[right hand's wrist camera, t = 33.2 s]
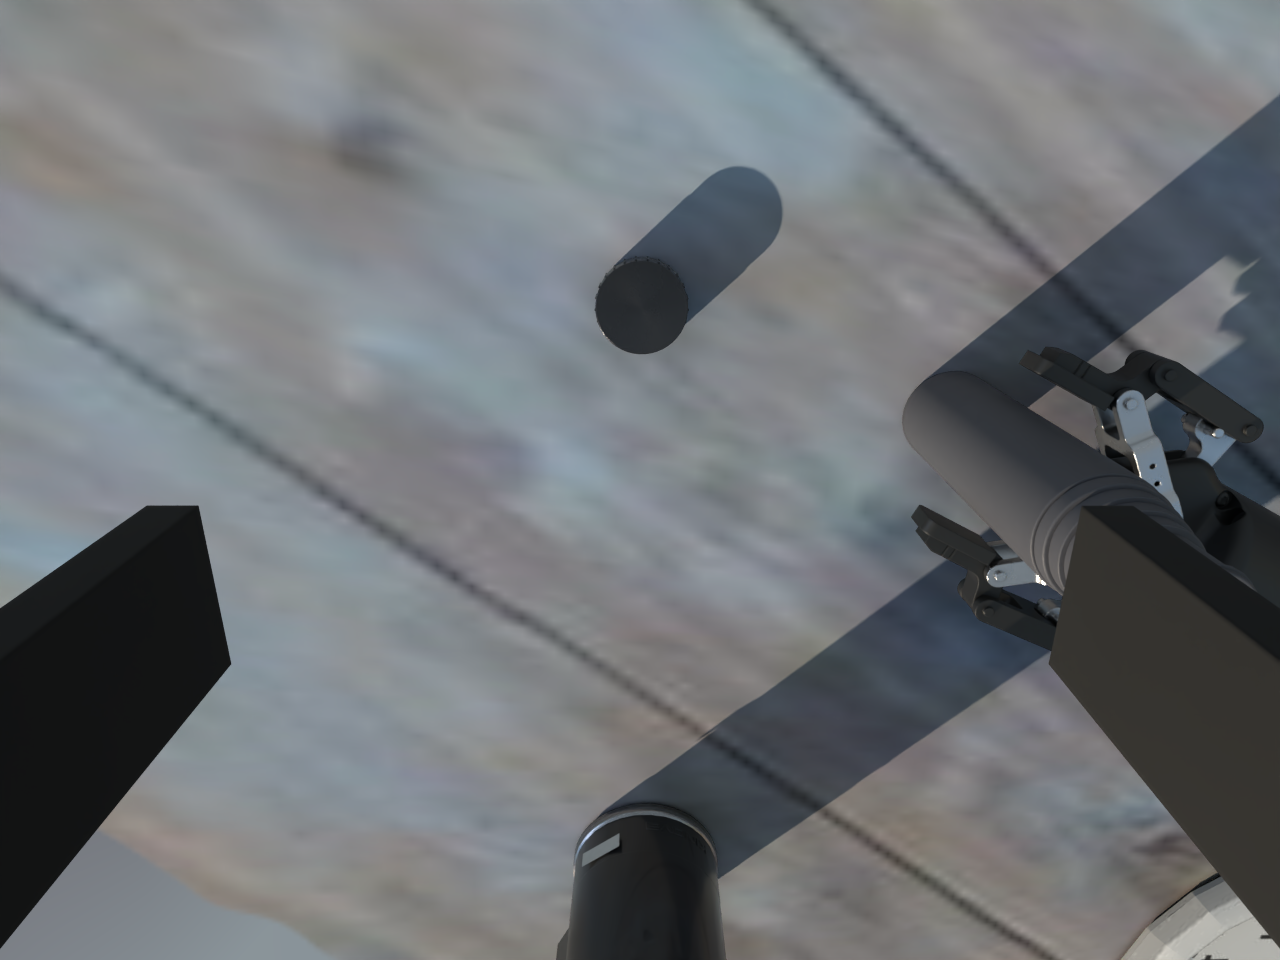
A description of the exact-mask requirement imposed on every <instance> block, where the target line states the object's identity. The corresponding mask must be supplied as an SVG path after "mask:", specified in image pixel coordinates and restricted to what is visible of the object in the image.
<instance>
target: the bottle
mask: <svg viewBox="0 0 1280 960" xmlns="http://www.w3.org/2000/svg"><path fill="white" fill-rule="evenodd" d="M902 423H903V430H904V434H905V437H906V439H907V441H908V442H909V444H910V445H911V446H912V448H913V449H914V450H915V451H916V452H917V453H918V454H919V455H920V456H921V457H922V458H923V459H924V460H925V461H926V462H927V463H928V464H929V465H930V466H931V467H932V468H933V469H934V470H935V471H936V472H937V473H938V474H939V475H940V476H941V477H942V478H943V479H944V480H945V481H946V482H947V484H948V485H949V486H950V487H951V488H952V489H953V490H954V491H955V492H956V493H957V494H958V495H959V496H960V497H961V498H962V499H963V500H964V501H965V502H966V503H967V504H968V505H969V506H970V507H971V508H972V509H973V510H974V511H975V512H976V513H977V514H978V515H979V516H980V517H981V518H982V519H983V520H984V521H985V522H986V523H987V524H988V525H989V526H990V528H991V529H992V530H993V531H994V532H995V533H996V534H997V535H998V536H999V537H1000V538H1001V539H1002V540H1003V541H1004V542H1005V543H1006V544H1007V545H1008V546H1009V547H1010V548H1011V549H1012V550H1013V551H1014V552H1015V553H1016V554H1017V555H1018V556H1019V557H1020V558H1021V559H1022V560H1023V561H1024V562H1025V563H1026V564H1027V565H1028V566H1029V567H1030V568H1031V569H1032V570H1033V571H1034V573H1035V574H1036V575H1037V576H1038V577H1039V578H1040V579H1041V580H1042V581H1043V582H1044V583H1046V584H1047V585H1048V586H1049V587H1051V588H1052V589H1054V590H1055V591H1057V592H1058V593H1059V594H1060V595H1062V596H1063V593H1064V588H1065V583H1066V578H1067V574H1068V569H1069V564H1070V559H1071V554H1072V549H1073V545H1074V540H1075V535H1076V530H1077V525H1078V521H1079V516H1080V511H1081V506H1134V507H1136V508H1137V509H1139V510H1140V511H1141V512H1143V513H1144V514H1146V515H1147V516H1149V517H1150V518H1151V519H1153V520H1154V521H1156V522H1157V523H1159V524H1160V525H1161V526H1163V527H1164V528H1166V529H1167V530H1169V531H1170V532H1171V533H1173V534H1174V535H1176V536H1177V537H1179V538H1180V539H1181V540H1183V541H1184V542H1186V543H1187V544H1189V545H1190V546H1191V547H1193V548H1194V549H1196V550H1197V551H1199V552H1200V553H1201V554H1203V555H1204V556H1206V557H1207V558H1209V559H1210V560H1211V561H1213V562H1214V563H1216V564H1217V565H1219V566H1220V567H1221V568H1223V569H1224V570H1226V571H1227V572H1229V573H1230V574H1231V575H1233V576H1234V577H1236V578H1237V579H1239V580H1240V581H1241V582H1243V583H1244V584H1246V585H1247V586H1249V587H1250V588H1251V589H1253V590H1254V591H1256V589H1255V588H1254V586H1253V583H1252V582H1251V581H1250V580H1249V578H1248V577H1247V576H1246V575H1245V574H1244V573H1242V572H1241V571H1239V570H1237V569H1236V568H1234V567H1232V566H1229V565H1225V564H1223V563H1222V562H1220V561H1219V560H1217V559H1216V558H1215V557H1213V556H1212V555H1210V554H1209V553H1207V552H1206V550H1205V548H1204V546H1203V544H1202V542H1201V541H1200V540H1199V539H1198V538H1197V537H1196V536H1195V535H1194V533H1193V531H1192V530H1191V528H1190V527H1189V526H1188V525H1187V524H1186V523H1185V522H1184V520H1183V518H1182V517H1181V515H1180V514H1179V513H1178V512H1177V511H1176V510H1175V509H1174V507H1173V506H1172V504H1171V503H1170V502H1169V500H1168V499H1167V498H1166V497H1165V496H1164V495H1162V494H1161V493H1159V492H1158V490H1157V489H1156V488H1154V487H1153V486H1152V485H1151V484H1150V483H1148V482H1147V481H1145V480H1144V479H1142V478H1140V477H1139V476H1137V475H1136V474H1134V473H1132V472H1131V471H1129V470H1127V469H1126V468H1124V467H1123V466H1121V465H1119V464H1118V463H1116V462H1114V461H1113V460H1111V459H1110V458H1108V457H1106V456H1105V455H1103V454H1101V453H1100V452H1098V451H1097V450H1095V449H1093V448H1092V447H1090V446H1088V445H1087V444H1085V443H1084V442H1082V441H1080V440H1079V439H1077V438H1075V437H1074V436H1072V435H1071V434H1069V433H1067V432H1066V431H1064V430H1062V429H1061V428H1059V427H1058V426H1056V425H1054V424H1053V423H1051V422H1049V421H1048V420H1046V419H1045V418H1043V417H1041V416H1040V415H1038V414H1036V413H1035V412H1033V411H1032V410H1030V409H1028V408H1027V407H1025V406H1023V405H1022V404H1020V403H1019V402H1017V401H1015V400H1014V399H1012V398H1010V397H1009V396H1007V395H1006V394H1004V393H1002V392H1001V391H999V390H997V389H996V388H994V387H993V386H991V385H989V384H988V383H986V382H984V381H983V380H981V379H980V378H978V377H976V376H974V375H972V374H969V373H966V372H959V371H951V372H944V373H940V374H937V375H935V376H933V377H931V378H929V379H927V380H926V381H924V382H923V383H922V384H920V385H919V386H918V387H917V388H916V389H915V390H914V392H913V393H912V394H911V396H910V397H909V399H908V401H907V403H906V405H905V409H904V412H903V422H902ZM1256 592H1257V591H1256Z"/></svg>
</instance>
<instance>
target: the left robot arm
mask: <svg viewBox="0 0 1280 960" xmlns="http://www.w3.org/2000/svg"><path fill="white" fill-rule="evenodd" d="M1019 364H1020V365H1022V366H1024V367H1026V368H1027V369H1029V370H1031V371H1033V372H1034V373H1036V374H1038V375H1040V376H1042V377H1043V378H1045V379H1047V380H1049V381H1050V382H1052V383H1054V384H1056V385H1057V386H1059V387H1061V388H1063V389H1064V390H1066V391H1068V392H1070V393H1072V394H1073V395H1075V396H1077V397H1079V398H1080V399H1082V400H1084V401H1086V402H1088V403H1090V404H1092V408H1093V411H1094V415H1095V418H1096V422H1097V428H1095V434H1096V438H1097V441H1098V445H1099V448H1100V452H1101V454H1103V455H1105V456H1106V457H1108V458H1110V459H1111V460H1113V461H1114V462H1116V463H1118V464H1119V465H1121V466H1123V467H1124V468H1126V469H1127V470H1129V471H1131V472H1132V473H1134V474H1136V475H1137V476H1139V477H1140V478H1142V479H1144V480H1145V481H1147V482H1148V483H1150V484H1151V485H1152V486H1153V487H1154V488H1156V489H1157V490H1158V492H1159V493H1161V494H1162V495H1164V496H1165V497H1166V498H1167V499H1168V500H1169V502H1170V503H1171V504H1172V506H1173V507H1174V509H1175V510H1176V511H1177V512H1178V513H1179V514H1180V515H1181V517H1182V518H1183V520H1184V522H1185V523H1186V524H1187V525H1188V526H1189V527H1190V528H1191V530H1192V531H1193V533H1194V535H1195V536H1196V537H1197V538H1198V539H1199V540H1200V541H1201V542H1202V544H1203V546H1204V548H1205V550H1206V552H1207V553H1209V554H1210V555H1212V556H1213V557H1215V558H1216V559H1217V560H1219V561H1220V562H1222V563H1223V564H1225V565H1229V566H1232V567H1234V568H1236V569H1237V570H1239V571H1241V572H1242V573H1244V574H1245V575H1246V576H1247V577H1248V578H1249V580H1250V581H1251V582H1252V583H1253V586H1254V588H1255V589H1256V591H1257V593H1259V594H1260V595H1261V596H1263V597H1264V598H1266V599H1267V600H1269V601H1270V602H1271V603H1273V604H1274V605H1276V606H1277V607H1279V608H1280V516H1279V515H1277V514H1275V513H1273V512H1272V511H1270V510H1268V509H1266V508H1265V507H1263V506H1261V505H1259V504H1258V503H1256V502H1254V501H1252V500H1250V499H1249V498H1247V497H1245V496H1243V495H1242V494H1240V493H1238V492H1236V491H1235V490H1233V489H1231V488H1229V487H1227V486H1226V485H1224V484H1222V483H1221V482H1220V481H1219V479H1218V478H1217V476H1216V473H1215V471H1214V469H1213V467H1212V466H1213V465H1214V464H1215V463H1216V462H1217V461H1218V460H1219V459H1220V457H1221V456H1222V455H1223V454H1224V453H1225V452H1226V451H1227V450H1228V449H1229V447H1230V446H1231V445H1232V444H1233V443H1234V442H1235V441H1236V440H1238V441H1240V442H1242V443H1250V442H1253V441H1255V440H1256V439H1257V438H1258V437H1259V436H1260V435H1261V434H1262V431H1263V422H1262V421H1261V420H1260V419H1259V418H1258V417H1256V416H1255V415H1253V414H1252V413H1250V412H1249V411H1247V410H1246V409H1245V408H1243V407H1242V406H1240V405H1239V404H1237V403H1236V402H1235V401H1233V400H1232V399H1230V398H1229V397H1227V396H1226V395H1224V394H1223V393H1222V392H1220V391H1219V390H1217V389H1216V388H1214V387H1213V386H1211V385H1210V384H1209V383H1207V382H1206V381H1204V380H1203V379H1201V378H1200V377H1198V376H1197V375H1196V374H1194V373H1193V372H1191V371H1190V370H1188V369H1187V368H1186V367H1184V366H1183V365H1181V364H1180V363H1178V362H1176V361H1173V360H1170V359H1167V358H1164V357H1162V356H1159V355H1156V354H1153V353H1150V352H1148V351H1145V350H1137V351H1134V352H1132V353H1131V354H1130V355H1129V356H1128V357H1127V359H1126V361H1125V365H1124V366H1123V367H1122V368H1120V369H1119V370H1117V371H1116V372H1113V373H1109V374H1106V373H1104V372H1102V371H1101V370H1099V369H1097V368H1096V367H1094V366H1092V365H1090V364H1089V363H1087V362H1085V361H1083V360H1082V359H1080V358H1078V357H1076V356H1075V355H1073V354H1071V353H1068V352H1066V351H1064V350H1061V349H1059V348H1054V347H1045V349H1044V350H1043V351H1042V353H1041V354H1040V356H1039V355H1037V354H1035V353H1033V352H1031V351H1029V350H1028V351H1027V352H1026V354H1025V355H1024V357H1023V358H1022V360H1021V361H1020V362H1019ZM1154 393H1158V394H1159V395H1161V396H1162V397H1164V398H1165V399H1167V400H1168V401H1170V402H1171V403H1172V404H1174V405H1175V406H1177V407H1178V408H1180V409H1181V410H1183V411H1184V412H1186V413H1187V414H1185V415H1183V416H1182V418H1181V421H1182V423H1183V430H1184V431H1185V432H1186V433H1187V434H1188V436H1189V439H1190V443H1189V446H1188V448H1187V450H1186V451H1183V450H1172V451H1165V452H1164V450H1163V446H1162V443H1161V441H1160V439H1159V438H1158V437H1157V435H1156V434H1155V433H1154V432H1153V429H1152V426H1151V422H1150V418H1149V415H1148V411H1147V407H1146V403H1145V400H1146V399H1148V398H1149V397H1150V396H1152V395H1153V394H1154ZM911 518H912V519H913V520H914V522H915V523H916V524H917V525H918V528H917V529H916V532H917V533H918V535H919V536H920V537H921V539H922V540H923V541H924V543H925V544H926V545H927V546H928V548H929V549H930V550H931V551H932V552H934V553H936V554H938V555H940V556H942V557H944V558H946V559H948V560H950V561H952V562H954V563H956V564H958V565H960V566H962V567H964V568H966V569H968V572H967V576H966V578H965V579H963V580H962V581H961V582H960V583H959V585H958V593H959V594H960V596H961V597H962V598H963V600H965V601H966V602H967V604H968V605H969V606H970V608H971V609H972V611H973V613H974V614H975V616H976V617H977V618H978V619H979V620H980V621H982V622H984V623H987V624H989V625H991V626H994V627H996V628H999V629H1001V630H1003V631H1006V632H1008V633H1010V634H1013V635H1015V636H1017V637H1020V638H1022V639H1024V640H1027V641H1029V642H1032V643H1034V644H1036V645H1039V646H1041V647H1043V648H1046V649H1048V650H1050V651H1052V646H1053V641H1054V636H1055V631H1056V627H1057V622H1058V617H1059V612H1060V607H1061V603H1062V600H1055V599H1044V598H1041V599H1039V600H1038V601H1037V604H1035V603H1033V602H1031V601H1028V600H1026V599H1024V598H1021V597H1019V596H1017V595H1014V594H1012V593H1010V592H1007V591H1005V590H1003V587H1006V586H1013V585H1020V584H1026V583H1040V584H1042V585H1047V584H1046V583H1044V582H1043V581H1042V580H1041V579H1040V578H1039V577H1038V576H1037V575H1036V574H1035V573H1034V571H1033V570H1032V569H1031V568H1030V567H1029V566H1028V565H1027V564H1026V563H1025V562H1024V561H1023V560H1022V559H1021V558H1020V557H1019V556H1018V555H1017V554H1016V553H1015V552H1014V551H1013V550H1012V549H1011V548H1010V547H1009V546H1008V545H1007V544H1006V543H1005V542H1004V541H1003V540H998V541H992V542H985V541H984V540H983V539H982V538H981V537H980V536H979V535H978V534H976V533H974V532H972V531H970V530H968V529H966V528H965V527H963V526H961V525H959V524H957V523H955V522H953V521H951V520H949V519H947V518H945V517H943V516H941V515H940V514H938V513H936V512H934V511H932V510H930V509H928V508H926V507H924V506H922V505H919V506H918V508H917V509H916V511H915V512H914V513H913V515H912V516H911ZM717 875H718V863H717V854H716V848H715V845H714V842H713V840H712V838H711V836H710V835H709V833H708V832H707V830H706V829H705V828H704V827H703V826H702V825H701V824H700V823H699V822H698V821H697V820H695V819H694V818H693V817H691V816H690V815H688V814H686V813H684V812H682V811H680V810H677V809H675V808H672V807H668V806H664V805H658V804H634V805H628V806H623V807H620V808H617V809H614V810H611V811H609V812H607V813H605V814H603V815H602V816H600V817H599V818H597V819H596V820H595V821H593V822H592V823H591V824H590V825H589V826H588V827H587V828H586V829H585V831H584V832H583V834H582V835H581V837H580V839H579V841H578V843H577V846H576V850H575V857H574V884H573V895H572V903H571V913H570V923H569V929H568V930H567V932H566V933H565V935H564V936H563V938H562V939H561V941H560V942H559V944H558V949H557V958H556V960H726V953H725V944H724V934H723V925H722V916H721V907H720V896H719V887H718V878H717Z"/></svg>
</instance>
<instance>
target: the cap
mask: <svg viewBox="0 0 1280 960" xmlns="http://www.w3.org/2000/svg"><path fill="white" fill-rule="evenodd" d="M684 288H685V286H684V284H683V283H682V282H681V281H680V279H679V276H678V274H677V273H675V272H674V271H673V270H672V269H671V268H670V266H669V265H668V266H667V265H666V264H664V263H662V262H660V260H659V259H658V260H655V259H652V258H649V257H647V258H645V257H638V258H637V256H636V257H635V258H632V259H628V260H626V259H625V260H624V261H623V262H621V263H619V264H618V265H614V267H613V268H612V269H611V270H610V271H609V272H608V273H606V274H605V278H604V279H603V281H602V283H600V285H599V291H598V294H596V297H595V299H596V305H595V311H596V317H597V322H598V324H599V326H600V329H601V331H602V333H603V334H604V335H605V336H606V338H607V339H608V340H609V341H610V342H611V343H612V344H614V345H615V346H616V347H618V348H620V349H622V350H624V351H626V352H630V353H634V354H649V353H654V352H657V351H659V350H662V349H664V348H665V347H667V346H668V345H670V344H671V343H672V342H673V341H674V340H675V339H676V338H677V337H678V336H679V334H680V333H681V331H682V329H683V327H684V325H685V323H686V319H687V313H688V311H689V309H688V302H687V299H688V296H687V294H686V293H685V290H684Z"/></svg>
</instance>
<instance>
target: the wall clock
mask: <svg viewBox="0 0 1280 960" xmlns="http://www.w3.org/2000/svg"><path fill="white" fill-rule="evenodd" d="M1121 960H1280V948H1279V947H1278V946H1277V945H1276V943H1275V942H1274V941H1273V940H1272V938H1271V937H1270V936H1269V935H1268V934H1267V932H1266V931H1265V930H1264V929H1263V927H1262V926H1261V925H1260V924H1259V922H1258V921H1257V920H1256V919H1255V918H1254V916H1253V915H1252V914H1251V913H1250V911H1249V910H1248V909H1247V908H1246V906H1245V905H1244V904H1243V903H1242V902H1241V900H1240V899H1239V898H1238V897H1237V895H1236V894H1235V893H1234V892H1233V890H1232V889H1231V888H1230V887H1229V885H1228V884H1227V883H1226V882H1225V881H1224V879H1223V878H1222V877H1219V878H1217V879H1215V880H1213V881H1212V882H1210V883H1208V884H1206V885H1204V886H1202V887H1200V888H1198V889H1196V890H1194V891H1192V892H1191V893H1189V894H1188V895H1187V896H1186V897H1184V898H1183V899H1182V900H1181V901H1179V902H1178V903H1177V904H1176V905H1174V906H1173V907H1172V908H1170V909H1169V910H1168V911H1167V912H1165V913H1164V914H1163V915H1162V916H1160V917H1159V918H1158V919H1157V920H1155V921H1154V922H1153V923H1151V924H1150V925H1149V926H1148V927H1147V928H1146V929H1145V930H1144V931H1143V933H1142V934H1141V935H1140V936H1139V938H1138V939H1137V940H1136V941H1135V943H1134V944H1133V945H1132V946H1131V948H1130V949H1129V950H1128V951H1127V953H1126V954H1125V955H1124V956H1123V958H1122V959H1121Z"/></svg>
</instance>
